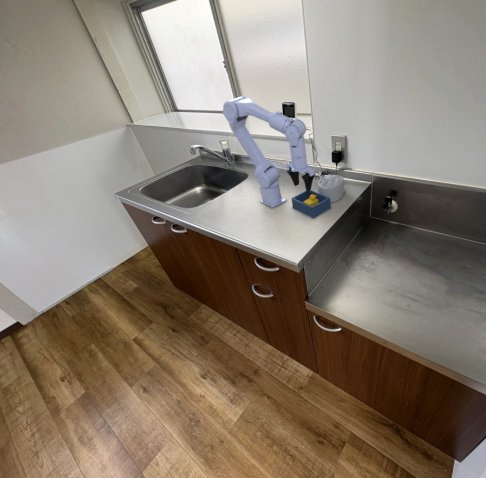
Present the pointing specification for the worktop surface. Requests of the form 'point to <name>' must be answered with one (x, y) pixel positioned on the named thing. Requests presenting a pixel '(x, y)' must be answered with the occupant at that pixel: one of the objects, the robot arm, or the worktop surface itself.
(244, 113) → the robot arm
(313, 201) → the duck
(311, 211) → the open box
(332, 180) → the lumpy-topped squat cylinder
